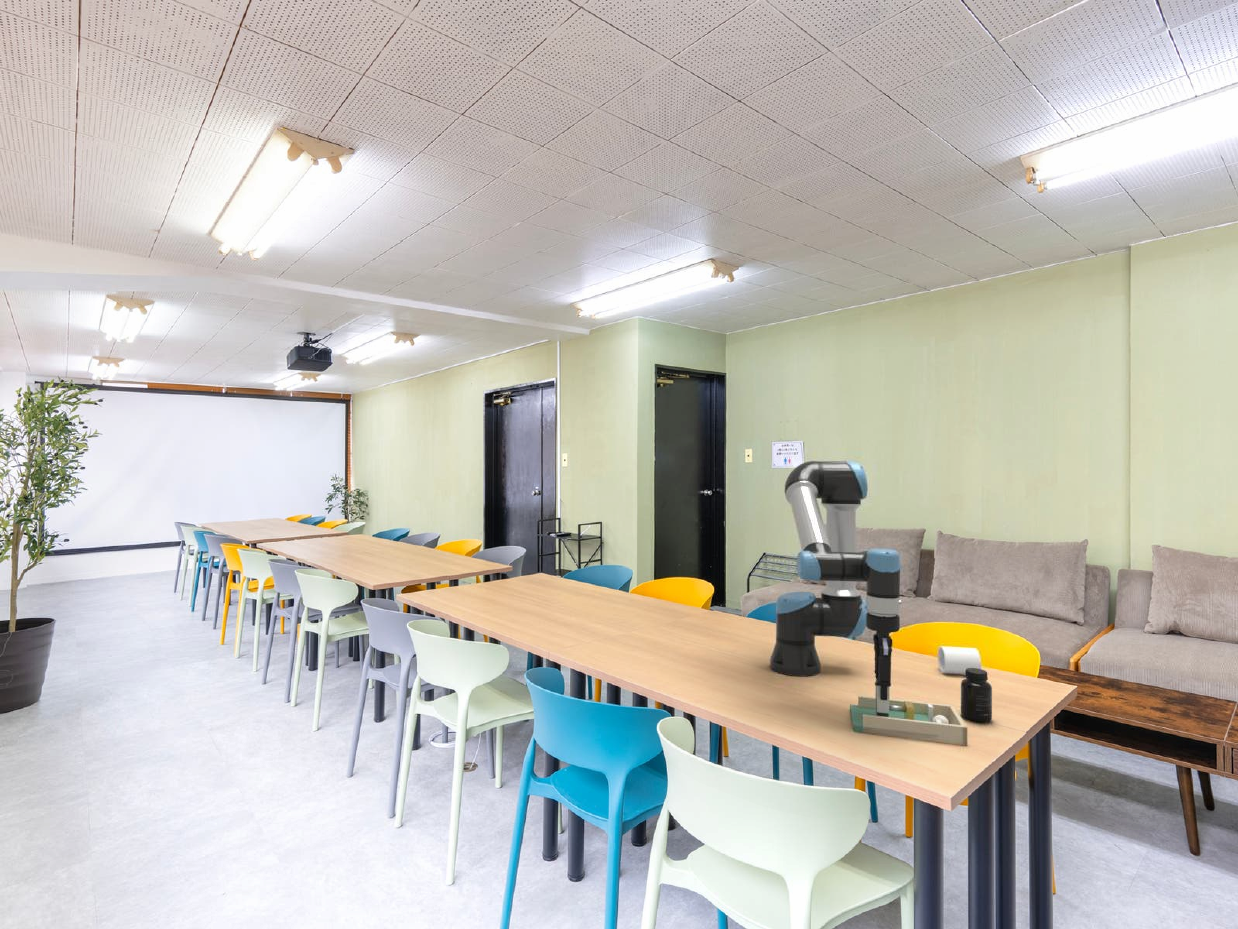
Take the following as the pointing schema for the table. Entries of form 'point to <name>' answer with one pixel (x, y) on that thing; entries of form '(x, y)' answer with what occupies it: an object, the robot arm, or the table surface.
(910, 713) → the uneven dumbbell
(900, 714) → the pitch
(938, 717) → the ball
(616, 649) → the table surface
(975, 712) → the supplement bottle
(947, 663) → the mug
